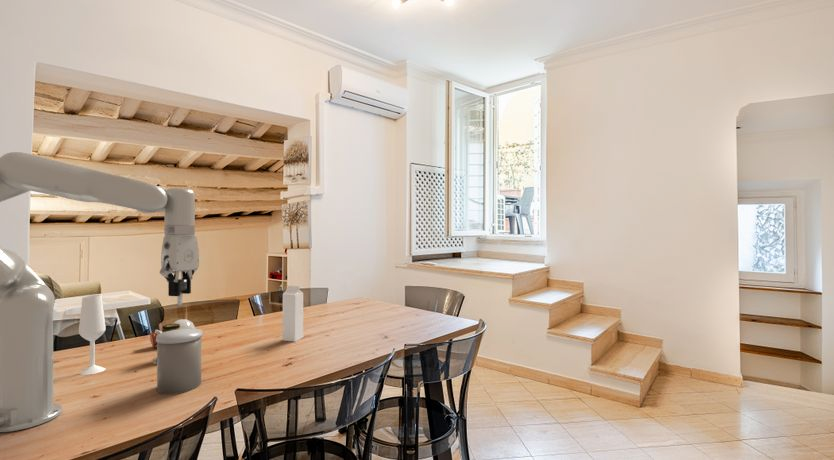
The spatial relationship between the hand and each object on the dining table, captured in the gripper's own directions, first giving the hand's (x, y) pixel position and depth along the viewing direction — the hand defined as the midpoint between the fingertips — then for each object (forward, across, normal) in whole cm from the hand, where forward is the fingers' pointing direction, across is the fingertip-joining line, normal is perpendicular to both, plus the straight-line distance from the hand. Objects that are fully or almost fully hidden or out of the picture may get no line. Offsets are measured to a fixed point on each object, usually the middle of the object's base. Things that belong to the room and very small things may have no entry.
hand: (179, 294), depth 116 cm
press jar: (+27, 0, 0) cm, 27 cm away
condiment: (+27, +20, +21) cm, 40 cm away
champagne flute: (+27, +6, +36) cm, 45 cm away
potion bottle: (+27, +36, +32) cm, 55 cm away
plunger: (+3, 0, 0) cm, 3 cm away
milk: (+27, +51, -10) cm, 59 cm away
